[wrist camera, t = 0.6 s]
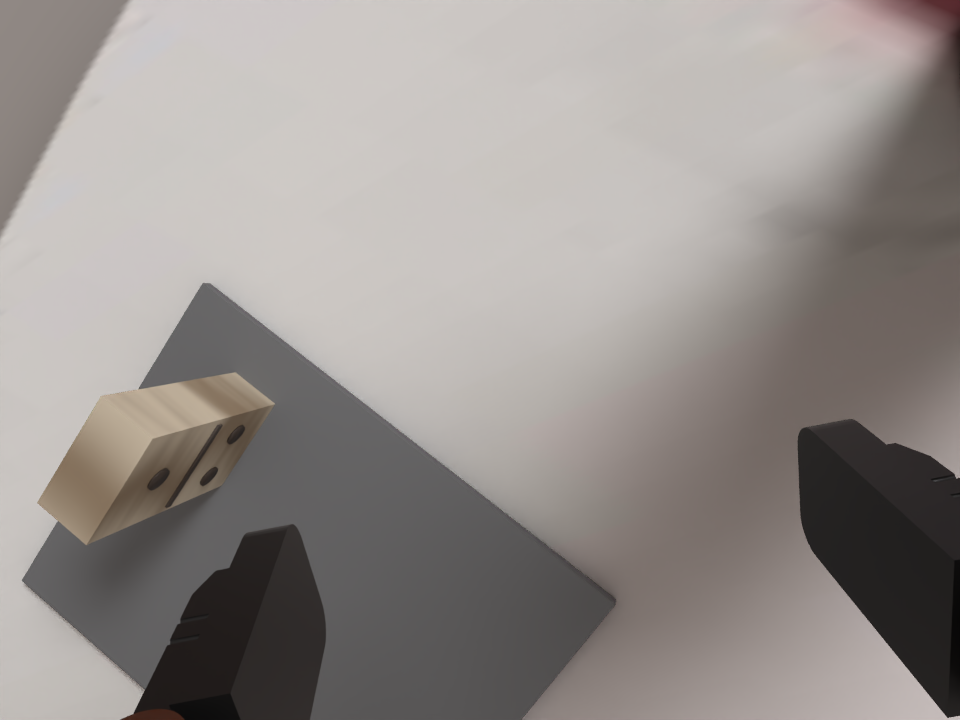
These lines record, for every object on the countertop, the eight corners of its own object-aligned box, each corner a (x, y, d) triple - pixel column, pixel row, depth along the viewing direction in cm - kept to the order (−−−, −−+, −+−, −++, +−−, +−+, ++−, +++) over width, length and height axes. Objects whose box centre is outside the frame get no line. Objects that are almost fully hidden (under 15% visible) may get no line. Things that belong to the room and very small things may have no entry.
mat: (209, 283, 36) (202, 283, 35) (615, 599, 33) (615, 604, 32) (30, 576, 40) (21, 580, 39) (381, 885, 37) (377, 895, 36)
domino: (235, 372, 35) (101, 396, 27) (277, 405, 35) (154, 440, 26) (183, 453, 36) (37, 502, 28) (223, 486, 36) (88, 546, 27)
